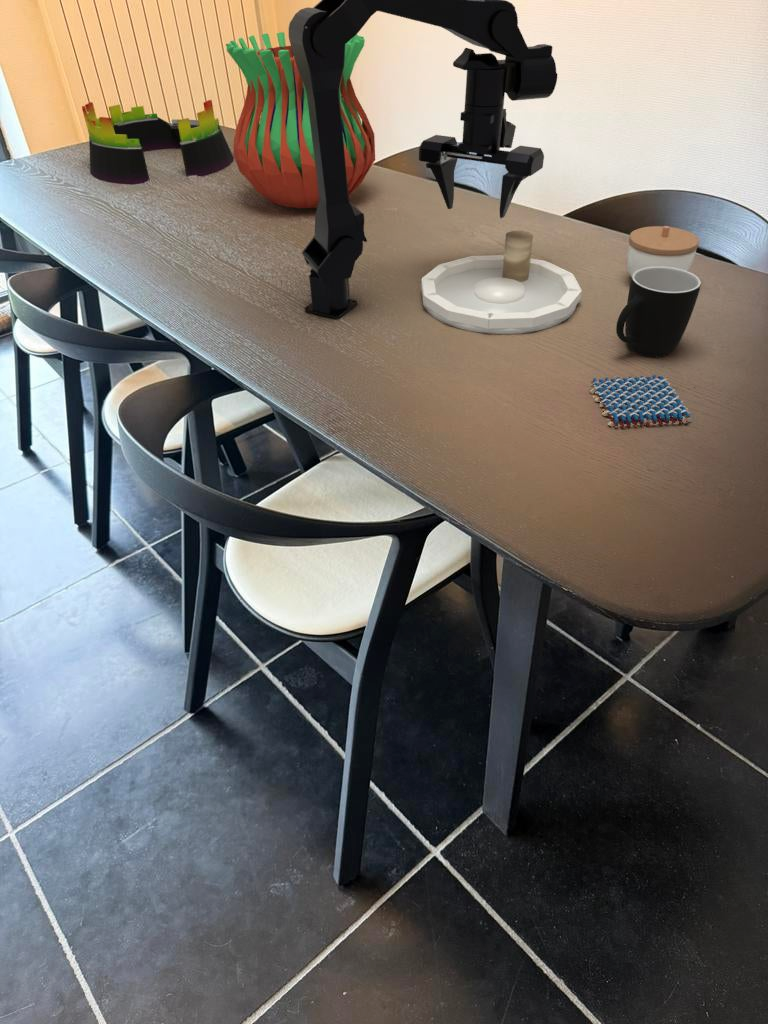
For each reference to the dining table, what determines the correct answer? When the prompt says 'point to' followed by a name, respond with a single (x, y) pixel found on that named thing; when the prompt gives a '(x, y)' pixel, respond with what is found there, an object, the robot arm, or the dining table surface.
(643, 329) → the mug
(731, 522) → the dining table surface
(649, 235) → the lidded jar
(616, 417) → the woven mat
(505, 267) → the tan rounded cylinder
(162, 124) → the decorative container
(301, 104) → the vase
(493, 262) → the ring tray
